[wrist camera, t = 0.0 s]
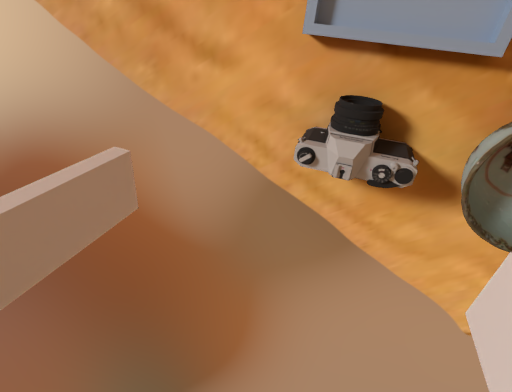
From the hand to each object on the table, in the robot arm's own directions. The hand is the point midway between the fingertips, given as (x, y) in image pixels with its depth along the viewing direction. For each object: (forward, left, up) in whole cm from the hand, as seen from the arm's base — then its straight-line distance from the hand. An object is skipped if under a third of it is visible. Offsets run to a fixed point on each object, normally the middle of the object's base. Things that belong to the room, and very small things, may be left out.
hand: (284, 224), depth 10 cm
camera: (+4, +2, -28) cm, 29 cm away
